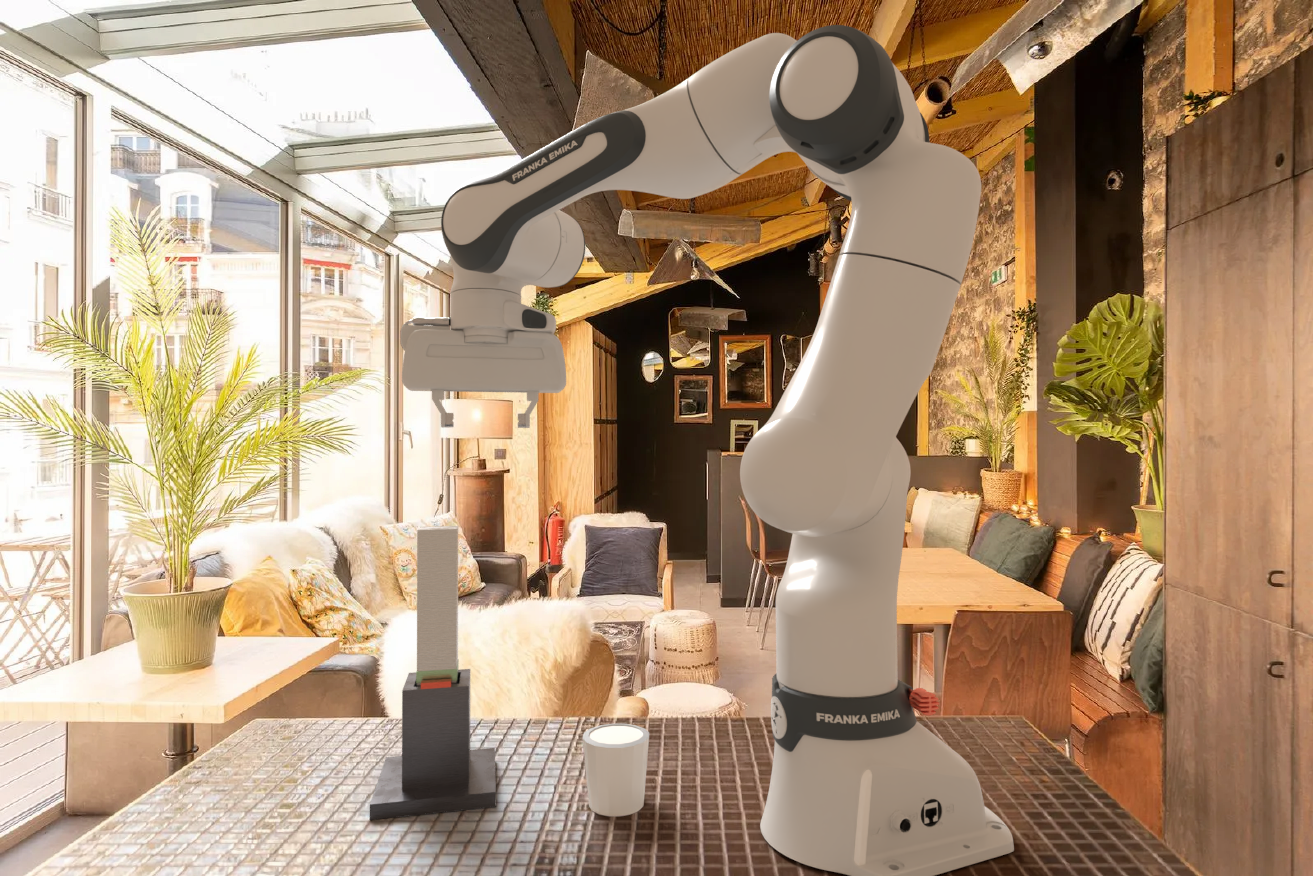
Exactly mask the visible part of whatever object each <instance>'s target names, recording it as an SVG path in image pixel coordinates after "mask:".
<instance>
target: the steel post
mask: <svg viewBox="0 0 1313 876" xmlns="http://www.w3.org/2000/svg"><path fill="white" fill-rule="evenodd" d="M416 532H417V533H416V537H417V539H416V540H417V542H416V543H417V545H416V546H417V547H416V549H417V550H416V551H417V552H416V557H417V559H416V671H415V672H416V683H417V687H421V681H423V680H438V679H451V684H458V670H459V667H460V666H459V664H460V663H459V525H445V526H444V525H441V526H438V525H436V526H420V527H419V528H418V529H417V530H416Z"/></svg>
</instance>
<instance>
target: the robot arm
mask: <svg viewBox="0 0 1313 876" xmlns="http://www.w3.org/2000/svg"><path fill="white" fill-rule="evenodd" d="M930 141H931V140H930V132H929V128H928V125H927V122H926V119H925V118H924V116H923V114H922V113H921V111H920V108H919V107H918V104H917V102H916V100H915V95H914V93H913V91H912V88H911V85H909V83H908V81H907V80H906V78H905V76H904V75H903V73H902V72H901V71H900V70H899V69H898V68H897V66H896V65H895V64H894V63H893V61H892V60H891V58H890V56H889V54H888V53H887V51H886V49H885V48H884V47H883V46H882V45H881V44H880V43H879V42H878V41H877V40H875V38H872V37H871V35H868V34H867V33H866V32H864V31H862V30H859V29H858V28H855V27H852V26H849V25H845V24H831V25H825V26H822V27H819V28H815V29H813V30H811V31H810V32H808V33H806V34H804V35H803V36H802V37H800V38H799V39H798V40H797V39H795V38H793V37H792V36H790V35H788V34H786V33H782V32H781V33H780V32H772V33H767V34H765V35H762V36H760V37H758V38H755V39H753V40H751V41H749V42H746V43H744V44H743V45H741V46H738V47H737V48H735V49H733V50H731V51H729V52H726V54H723V55H722V56H720V57H718V58H716V59H715V60H713V61H711V62H710V63H708V64H706V65H705V66H703V67H702V68H701V69H699V70H698V71H696V72H695V73H693V74H692V75H691V76H689V77H688V78H686V79H685V80H683V81H682V82H680V83H679V84H677V85H676V86H674V87H672V88H671V89H669V90H667V91H665V92H663V93H662V94H660V95H657V96H656V97H653V98H652V99H650V100H647V101H645V102H643V103H641V104H638V105H635V106H632V107H629V108H626V109H623V110H618V111H615V112H614V111H613V112H611V113H608V114H604V115H602V116H600V117H596V118H595V119H593V120H591V121H589V122H586V123H585V124H583V125H581V126H579V127H578V128H575V129H573V130H572V131H570V132H568V133H566V134H564V135H563V136H561V137H558V138H557V139H556V140H554V141H552V142H551V143H548V144H547V145H545V146H543V147H542V148H539V149H538V150H536V151H534V152H533V153H531V154H529V155H528V156H526V157H524V158H522V159H521V160H519V161H517V162H515V163H514V164H512V165H510V166H508V167H506V168H504V169H502V170H499V171H496V172H494V173H490V174H489V173H488V174H484V175H479V176H475V177H473V178H472V177H471V178H470V179H468V180H467V181H465V182H463V183H462V184H461V185H459V187H457V188H456V189H455V191H453V192H452V193H451V195H450V196H449V197H448V198H447V199H448V200H447V201H446V203H445V205H444V206H443V209H442V213H441V219H440V223H441V225H440V226H441V227H440V229H441V233H442V238H443V242H444V245H445V246H446V249H447V251H448V253H449V255H450V264H451V268H452V271H453V282H452V284H451V288H450V293H449V294H450V300H449V301H450V303H449V304H450V305H449V307H450V308H449V309H450V310H449V311H450V312H449V313H450V317H441V316H440V317H438V316H437V317H435V316H434V317H424V316H414V317H412V319H410V320H407V321H405V322H404V323H403V324H402V325H401V327H400V335H399V338H400V339H399V342H400V346H401V348H402V350H403V351H404V354H403V361H402V371H401V382H402V384H403V386H404V387H405V388H406V389H407V390H408V391H410V392H411V391H412V392H431V400H432V401H433V404H434V405H435V407H436V409H437V410H438V412H439V413H440V428H443V429H444V428H455V427H454V425H455V424H454V423H455V422H454V421H453V420H454V419H455V418H454V417H455V415H454V412H447V411H446V409H445V407H444V406H443V403H442V402H441V401H444V400H445V392H457V393H458V392H464V393H465V392H467V393H468V392H469V393H475V392H476V393H521V394H523V393H526V401H527V402H529V405H528V407H527V408H526V410H525V411H524V413H517V421H518V422H517V428H518V429H520V428H522V429H530V427H531V426H530V425H531V417H530V416H531V413H532V412H533V410H534V408H535V407H536V405H537V404H538V402H539V394H558V393H561V392H562V391H563V390H564V389H565V388H566V386H567V370H566V359H565V353H564V349H563V344H562V342H561V340H560V338H558V336H556V335H555V332H556V331H557V320H556V317H555V316H554V315H553V314H551V313H548V312H546V311H542V310H539V309H537V308H534V307H531V306H529V305H526V304H524V303H522V290H523V288H524V287H526V286H536V287H540V288H559V287H564V286H565V285H567V284H568V283H570V282H571V281H572V280H573V279H574V278H575V277H576V276H577V274H578V272H579V271H580V269H581V268H582V266H583V262H584V260H585V255H586V238H585V234H584V230H583V229H582V226H581V224H580V223H579V221H578V220H576V218H574V217H572V216H571V215H569V214H567V212H566V213H565V211H563V210H561V209H564V208H566V207H567V206H569V205H571V204H573V203H575V202H576V201H578V200H580V199H582V198H584V197H586V196H588V195H591V194H594V193H600V192H604V191H605V192H606V191H632V192H639V193H647V194H652V195H658V196H662V197H666V198H671V199H679V200H680V199H681V200H688V199H692V198H693V199H694V198H696V197H699V196H702V195H706V194H709V193H710V192H714V191H715V190H718V189H721V188H722V187H724V186H726V185H728V184H729V183H730V182H732V181H734V180H735V179H737V178H739V177H740V176H742V175H743V174H745V173H747V172H748V171H750V170H752V169H753V168H754V167H756V166H758V165H759V164H761V163H762V162H764V161H765V160H768V159H769V158H771V157H773V156H776V155H777V154H781V153H788V152H789V153H790V152H791V153H796V154H797V155H798V156H799V158H800V159H801V160H802V161H803V163H805V165H806V167H807V168H808V170H809V171H810V173H812V175H814V176H815V177H816V178H817V179H819V180H820V181H821V182H822V183H824V184H826V185H827V186H829V187H830V188H831V189H832V190H833V192H836V194H838V195H839V196H840V197H841V198H843V199H845V200H847V201H849V202H851V210H850V219H849V221H848V222H849V223H848V226H847V230H846V233H845V236H844V238H843V242H842V245H841V248H840V250H839V255H838V257H837V260H836V263H835V267H834V270H833V274H832V277H831V280H830V282H829V287H828V288H827V292H826V296H825V299H824V303H823V305H822V308H821V311H820V315H819V317H818V321H817V324H816V327H815V330H814V332H813V334H812V337H811V340H810V342H809V344H808V346H807V348H806V351H805V353H804V354H803V356H802V358H801V360H800V363H799V365H798V367H797V368H796V370H795V372H794V374H793V375H792V377H791V379H790V381H789V382H788V384H787V386H786V389H785V390H784V392H783V394H782V395H781V398H780V400H779V402H778V403H777V406H776V407H775V409H774V411H773V412H772V414H771V416H770V417H769V419H768V420H767V422H766V423H764V425H763V426H762V427H761V428H760V429H759V430H757V432H756V433H755V434H754V435H753V436H752V437H751V438H750V440H749V442H748V443H747V445H746V447H745V449H744V452H743V454H742V457H741V461H740V467H739V468H740V469H739V479H740V485H741V486H740V487H741V490H742V493H743V496H744V498H745V500H746V502H747V504H748V505H749V507H750V509H751V510H752V511H753V513H754V514H755V515H756V516H757V517H758V518H759V519H761V520H762V521H763V522H764V523H766V524H768V525H769V526H771V527H774V528H776V529H779V530H781V531H784V532H787V533H790V534H791V535H792V536H791V541H790V545H789V551H788V557H787V559H786V565H785V569H784V572H783V574H782V578H781V580H780V582H779V584H778V587H777V589H776V595H775V644H776V645H775V654H776V655H775V659H776V661H775V663H776V667H775V669H776V671H775V672H776V673H774V674H773V676H772V678H771V679H772V680H771V699H770V719H771V720H770V723H771V730H772V738H773V739H774V745H773V747H774V749H773V757H772V758H773V759H772V768H771V773H770V774H771V775H770V781H769V782H770V783H769V786H768V787H769V789H768V792H767V797H766V802H765V806H764V810H763V814H762V817H761V820H760V826H759V827H760V832H761V834H762V837H763V838H764V840H765V841H766V842H767V843H768V844H769V845H770V846H771V847H772V848H773V849H774V850H776V851H777V852H779V853H780V854H782V855H783V856H785V857H787V858H789V859H791V860H794V861H796V862H798V863H800V864H803V865H805V866H808V867H812V868H815V869H819V870H822V871H823V870H824V871H828V872H834V873H836V874H837V873H838V874H843V875H847V876H937V875H940V874H941V875H942V874H944V873H947V872H951V871H954V870H958V869H961V868H964V867H968V866H971V865H974V864H978V863H981V862H984V861H987V860H991V859H994V858H998V857H1001V856H1003V855H1007V854H1010V853H1012V852H1014V851H1015V845H1014V838H1013V834H1012V832H1011V830H1010V829H1009V827H1008V826H1007V824H1006V823H1005V822H1004V821H1003V820H1002V819H1001V818H1000V817H999V816H998V815H997V814H995V813H994V812H993V810H991V809H990V808H988V807H987V806H986V805H985V802H984V797H983V793H982V787H981V784H980V781H979V779H978V776H977V773H976V772H975V770H974V769H973V768H972V766H971V765H970V764H969V762H968V761H966V760H965V758H964V757H962V755H961V754H959V753H958V752H956V751H955V750H954V749H953V748H951V747H950V746H949V745H947V744H946V743H945V742H944V741H943V740H941V739H940V738H939V737H938V736H937V735H935V734H934V733H933V732H931V731H930V730H929V729H927V728H926V727H925V726H924V725H923V724H922V723H920V722H918V720H917V718H916V714H915V712H914V709H915V710H917V711H919V712H920V713H921V714H923V715H924V716H928V717H929V716H933V715H935V714H936V713H937V711H936V710H939V705H940V702H939V698H938V697H936V696H937V695H936V694H935V693H932V692H930V691H927V690H926V689H925V688H922V687H916V688H914V689H913V687H912V686H911V685H909V684H907V683H906V682H904V681H902V680H900V679H898V677H899V676H898V621H897V619H898V618H897V617H898V616H897V615H898V614H897V613H898V611H897V610H898V589H899V577H900V576H899V575H900V570H901V563H902V556H903V547H904V540H905V539H904V538H905V528H906V517H907V506H908V505H907V503H908V490H909V486H910V483H911V482H910V481H911V472H912V471H911V463H910V458H909V456H908V454H907V451H906V450H905V448H904V446H903V445H902V443H901V442H900V441H899V439H898V438H897V435H898V433H899V430H900V429H901V427H902V425H903V422H904V421H905V419H906V417H907V415H908V413H909V411H910V408H911V406H912V404H913V403H914V400H915V399H916V398H917V395H918V393H919V391H920V390H921V388H922V386H923V385H924V383H925V381H927V379H928V378H929V376H930V375H931V373H932V371H933V369H934V366H935V362H936V359H937V357H938V353H939V351H940V348H941V345H942V343H943V340H944V337H945V334H946V330H947V327H948V325H949V321H950V318H951V316H952V313H953V310H954V307H955V303H956V301H957V297H958V294H959V291H960V289H961V285H962V284H963V279H964V276H965V274H966V269H967V266H968V263H969V258H970V255H971V251H972V247H973V243H974V238H975V233H976V228H977V223H978V217H979V210H980V203H981V197H982V180H981V175H980V173H979V170H978V168H977V167H976V165H975V163H973V162H972V160H971V159H970V158H968V157H967V156H966V155H964V154H963V153H961V152H960V151H959V150H957V149H955V148H953V147H950V146H947V145H944V144H939V143H933V142H930Z"/></svg>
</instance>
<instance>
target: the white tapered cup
mask: <svg viewBox="0 0 1313 876" xmlns="http://www.w3.org/2000/svg"><path fill="white" fill-rule="evenodd" d="M649 742H650V732H649V731H648V730H647V729H646V728H644V727H642V726H639V725H637V724H636V725H635V724H629V723H607V724H606V723H605V724H601V725H597V726H594V727H591V728H589V729H587V730H586V731H584V732H583V735H582V746H583V747H582V748H583V757H584V758H583V759H584V768H585V779H586V789H587V800H588V807H589V808H590V810H591V811H592V812H594V813H595V814H597V815H599V816H605V817H624V816H625V817H626V816H629V815H632V814H635V813H638V812H639V811H640V810H642V808H643V807H644V806H645V793H646V792H645V791H646V780H647V770H648V769H647V768H648V755H649V744H650V743H649Z"/></svg>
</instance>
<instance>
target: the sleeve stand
mask: <svg viewBox="0 0 1313 876" xmlns="http://www.w3.org/2000/svg"><path fill="white" fill-rule="evenodd" d="M401 693H402V697H401V698H402V699H401V702H402V703H401V705H402V706H401V709H402V711H401V720H402V721H401V725H402V726H401V733H402V734H401V755H397V756H396V755H395V756H388V757H387V756H386V757H385V759H384V762H383V766H382V768H381V771H380V774H379V777H378V779H377V782H376V784H375V785H376V786H375V788H374V791H373V793H372V797H371V799H370V803H369V821H373V820H374V819H376V820H383V819H392V818H395V819H396V818H403V817H411V816H423V815H430V814H431V815H432V814H439V813H449V812H450V813H451V812H461V811H469V810H479V809H481V810H482V809H488V808H489V809H490V808H496V807H497V801H496V800H497V799H496V798H497V797H496V790H497V787H496V784H497V783H496V747H486V748H476V749H471V668H464V669H461V668H460V669H458V684H451V679H438V680H423V681H421V687H417V683H416V671H415V672H408V674H407V677H406V679H405V682H404V685H403V688H402V690H401ZM374 821H375V820H374Z"/></svg>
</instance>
